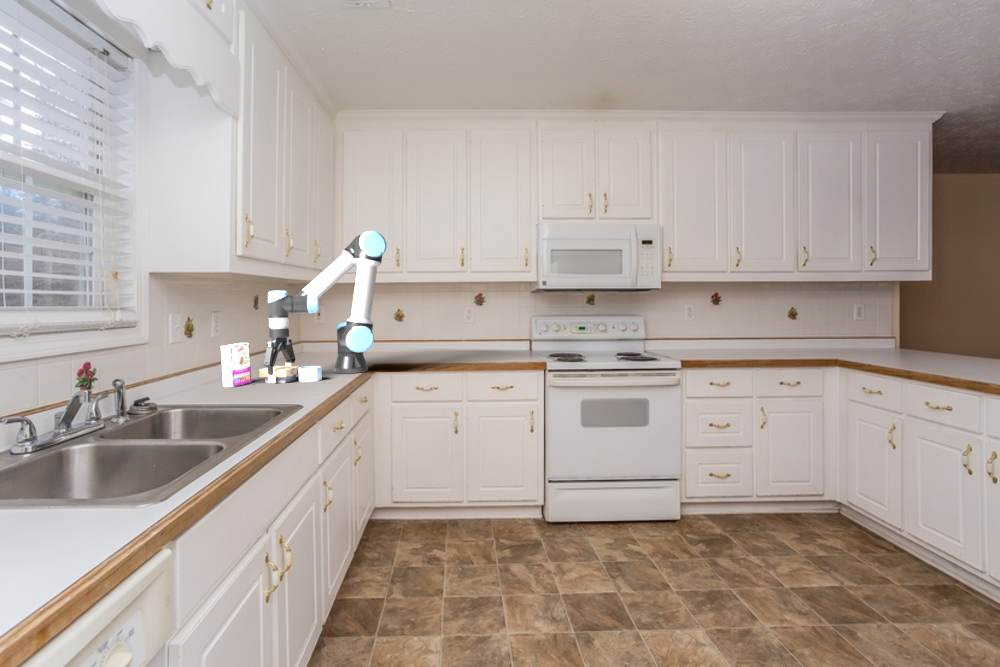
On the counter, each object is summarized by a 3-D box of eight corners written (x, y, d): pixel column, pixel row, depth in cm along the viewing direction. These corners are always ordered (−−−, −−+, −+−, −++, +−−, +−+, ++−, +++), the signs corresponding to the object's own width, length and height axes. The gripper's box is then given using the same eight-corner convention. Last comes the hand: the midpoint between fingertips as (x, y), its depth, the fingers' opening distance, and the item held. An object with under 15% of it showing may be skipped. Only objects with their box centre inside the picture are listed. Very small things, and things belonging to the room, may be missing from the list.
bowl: (306, 378, 217) (306, 365, 216) (324, 378, 215) (324, 366, 215) (295, 381, 208) (294, 368, 208) (314, 382, 207) (313, 368, 207)
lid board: (275, 372, 216) (275, 365, 216) (301, 373, 214) (301, 366, 214) (259, 376, 205) (259, 369, 205) (286, 377, 203) (285, 369, 203)
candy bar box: (240, 382, 207) (239, 342, 206) (251, 382, 206) (250, 343, 205) (221, 387, 196) (219, 345, 195) (233, 387, 195) (231, 345, 194)
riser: (277, 379, 215) (276, 373, 214) (296, 379, 213) (296, 374, 213) (265, 382, 207) (264, 376, 207) (285, 382, 205) (284, 376, 205)
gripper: (287, 326, 221) (289, 376, 222) (252, 329, 198) (254, 384, 199) (303, 326, 219) (304, 376, 221) (269, 329, 196) (271, 385, 198)
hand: (281, 380), depth 210 cm, fingers closed on lid board, 11 cm apart
